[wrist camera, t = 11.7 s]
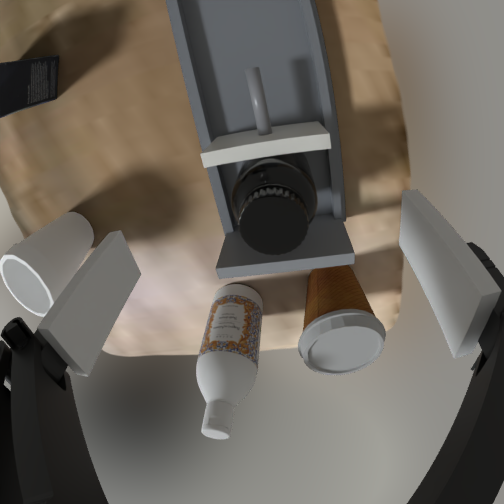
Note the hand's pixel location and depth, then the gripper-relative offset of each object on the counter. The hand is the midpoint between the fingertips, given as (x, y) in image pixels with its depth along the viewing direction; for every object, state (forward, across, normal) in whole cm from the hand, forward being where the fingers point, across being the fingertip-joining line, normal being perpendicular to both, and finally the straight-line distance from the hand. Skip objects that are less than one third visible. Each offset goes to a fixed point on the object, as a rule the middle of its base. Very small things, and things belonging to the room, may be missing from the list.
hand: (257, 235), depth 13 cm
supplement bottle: (+18, 0, -3) cm, 19 cm away
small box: (+19, -28, +17) cm, 38 cm away
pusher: (+18, 0, +4) cm, 18 cm away
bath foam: (+19, -8, -21) cm, 29 cm away
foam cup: (+19, -29, -6) cm, 35 cm away
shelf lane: (+19, 0, +7) cm, 20 cm away
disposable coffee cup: (+19, +5, -19) cm, 27 cm away
